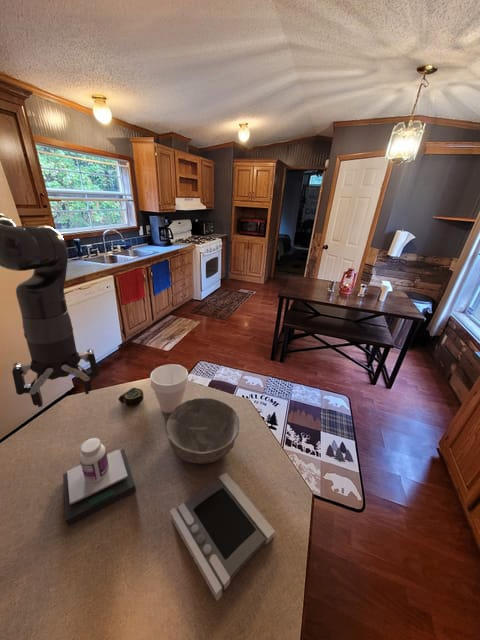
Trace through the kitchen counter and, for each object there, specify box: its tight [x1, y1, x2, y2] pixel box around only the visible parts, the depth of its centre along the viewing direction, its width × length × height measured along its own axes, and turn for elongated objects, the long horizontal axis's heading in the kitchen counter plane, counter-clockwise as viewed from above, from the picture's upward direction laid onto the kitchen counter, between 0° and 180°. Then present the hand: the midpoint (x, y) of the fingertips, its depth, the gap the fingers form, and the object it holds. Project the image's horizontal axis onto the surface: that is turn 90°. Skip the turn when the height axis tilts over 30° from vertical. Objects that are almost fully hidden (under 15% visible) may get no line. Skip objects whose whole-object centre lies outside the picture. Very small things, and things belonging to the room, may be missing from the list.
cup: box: [149, 363, 189, 414], centre depth 87 cm, size 12×12×14 cm
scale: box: [62, 448, 137, 528], centre depth 62 cm, size 14×12×4 cm
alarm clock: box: [169, 472, 276, 602], centre depth 56 cm, size 17×5×16 cm
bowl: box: [165, 397, 240, 464], centre depth 73 cm, size 21×21×10 cm
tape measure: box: [117, 387, 144, 407], centre depth 90 cm, size 7×7×4 cm
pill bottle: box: [79, 437, 109, 483], centre depth 60 cm, size 5×5×10 cm
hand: (64, 398), depth 56 cm, fingers open, 8 cm apart
